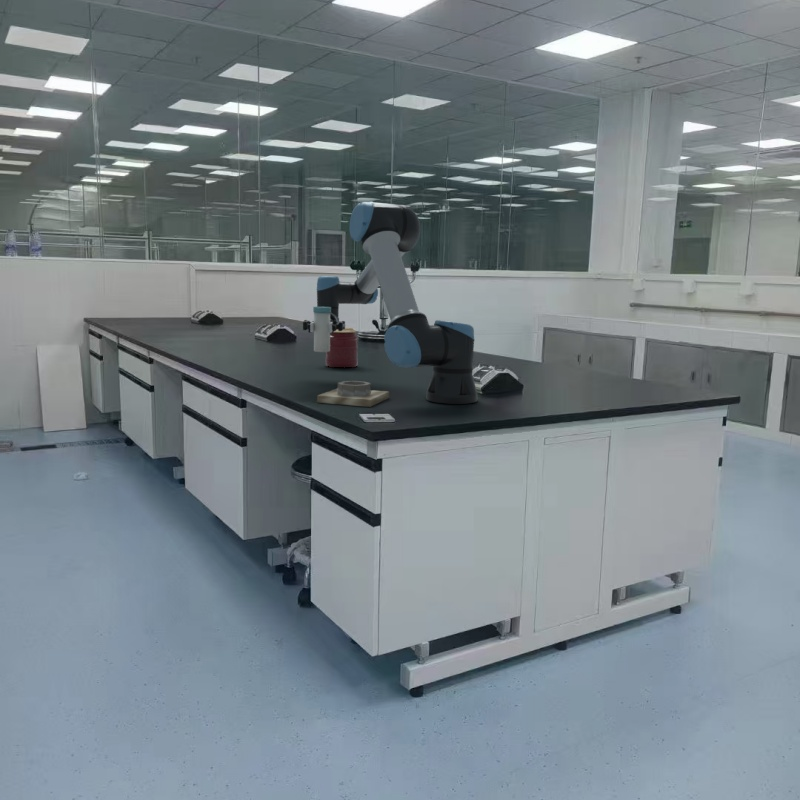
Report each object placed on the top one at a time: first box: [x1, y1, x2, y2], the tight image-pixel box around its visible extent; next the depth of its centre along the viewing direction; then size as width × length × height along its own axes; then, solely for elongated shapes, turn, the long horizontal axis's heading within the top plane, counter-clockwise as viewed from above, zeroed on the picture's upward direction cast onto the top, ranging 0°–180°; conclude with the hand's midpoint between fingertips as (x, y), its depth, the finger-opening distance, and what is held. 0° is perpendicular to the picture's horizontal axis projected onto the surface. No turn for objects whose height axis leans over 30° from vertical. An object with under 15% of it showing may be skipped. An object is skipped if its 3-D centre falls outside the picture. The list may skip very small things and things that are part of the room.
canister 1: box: [312, 306, 331, 353], centre depth 220 cm, size 5×5×14 cm
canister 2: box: [325, 326, 359, 369], centre depth 283 cm, size 13×13×18 cm
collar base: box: [316, 380, 390, 408], centre depth 206 cm, size 16×16×5 cm
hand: (320, 327), depth 214 cm, fingers closed on canister 1, 5 cm apart
